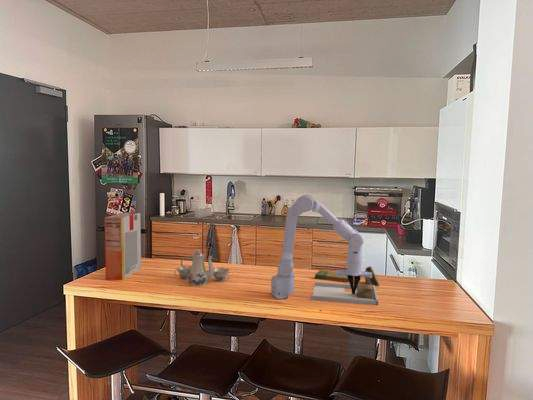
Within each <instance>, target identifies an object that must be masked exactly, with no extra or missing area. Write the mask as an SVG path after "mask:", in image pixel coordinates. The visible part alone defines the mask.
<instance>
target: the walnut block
mask: <svg viewBox="0 0 533 400" xmlns="http://www.w3.org/2000/svg"><path fill="white" fill-rule="evenodd" d="M372 286H373V285H370V284H364V283H363V284H362V283H358V285H357V298H369V299H372V298H373V288H372Z"/></svg>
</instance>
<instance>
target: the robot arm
mask: <svg viewBox="0 0 533 400" xmlns="http://www.w3.org/2000/svg"><path fill="white" fill-rule="evenodd" d="M310 211H312V213H318V214H320V215H321V216H322V217H323V218H325V219H326V220H327V221H328V222H329V223H331V224H332V225H333V231H334V232H336V233H337V234H338V236H340V238H341V239H343V240H345V241H346V242H347V243H348V244H347V246H348V247H347V256H346V257H347V259H346V261H347V262H346V266H347V267H346V269H344V270H343V269H337V270H336V271H335V272H336V276H348V281H349V282H348V284H349V285H350V286H351V289H350V290H351V292H352V294H355V292H356V288H357V285H358V284H360V281H361V278H365V277H369V278H372V272H365V270H364V271H362V255H363V253H362V246H363V244H364V239H363V237H362V235H361V234H360V233H359V232H358V230H357V229H356V228H353V227H352V226H351V225H350V224H349V222H348V220H344V219H341V218H340V219H338V218H337V217H336V216H335V215H334V214H333V213H332V212H331V211H330V210H329V208H327V207H326V206H325V205H324V204H323V203H321V202H320V201H318V200H317V199H315V198H313V196H312V195H310V194H303V195H302V196H300V197H298V198H297V199H296V200H295V201H294V203H292V205H291V206H290V207H289V208H288V209H287V212H286V216H285V217H286V219H285V226H284V233H283V234H284V235H283V244H282V253H281V256H280V257H281V259H280V261H279V264H278V266H277V272H276V273H277V274H276V275H272V276H271V281H270V283H271V284H270V294H271V295H272V296H273V297H274V298H275V299H276V300H280V299H288V297H289V296H290V295H293V294H294V293H295V273H294V272H293V271H294V266H295V263H294V260H293V259H294V258H293V256H294V246H295V239H296V237H295V236H296V229H297V224H298V223H297V222H298V217H299V216H301V215H302V214H303V213H308V212H310ZM353 285H354V288H353Z"/></svg>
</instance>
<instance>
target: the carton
mask: <svg viewBox="0 0 533 400" xmlns="http://www.w3.org/2000/svg"><path fill="white" fill-rule="evenodd" d="M314 280H321V281H322V280H323V281H330V282H331V281H333V282H337V283H338V282H340V283H348V284H349V281H348V276H336V271H329V270H321V269H319V270H318V271H317V272H316V273H315V275H314Z"/></svg>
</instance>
